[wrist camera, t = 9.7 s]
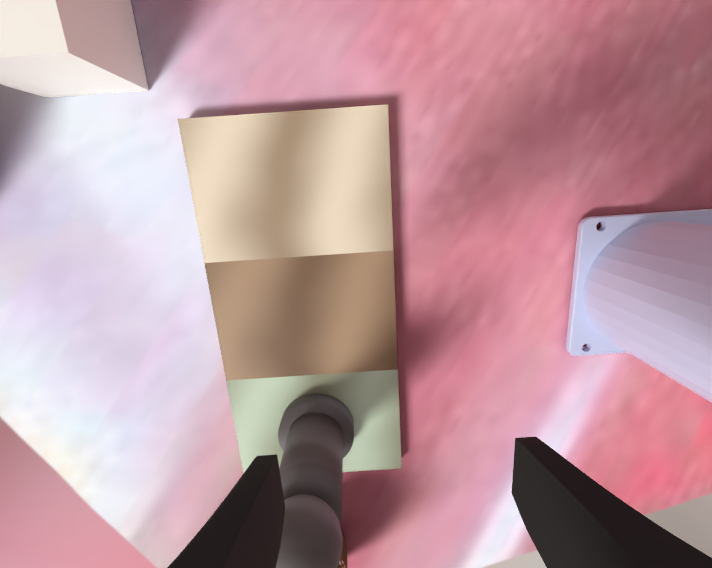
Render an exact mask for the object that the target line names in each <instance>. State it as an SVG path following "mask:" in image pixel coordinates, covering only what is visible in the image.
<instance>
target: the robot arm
mask: <svg viewBox="0 0 712 568" xmlns="http://www.w3.org/2000/svg"><path fill="white" fill-rule="evenodd" d="M599 222H601V227H600V229H599V230H597V229H596V226H597V224H598V223H599ZM584 344H587V345H586V347H585V348H583V349H582V347H583V345H584ZM566 350H567V351H568V352H569V353H570V354H572V355H574V356H580V355H596V354H611V353H627V352H628V353H630V354H631V355H633V356H635V357H636V358H638V359H640V360H641V361H643V362H645V363H646V364H648V365H650V366H651V367H653V368H655V369H656V370H658V371H660V372H661V373H663V374H665V375H666V376H668V377H670V378H671V379H673V380H675V381H676V382H678V383H680V384H681V385H683V386H685V387H686V388H688V389H690V390H691V391H693V392H695V393H696V394H698V395H700V396H701V397H703V398H705V399H706V400H708V401H710V402H711V403H712V209H699V210H684V211H669V212H654V213H639V214H624V215H610V216H595V217H586V218H584V219H583V220H581V222H580V223H579V226H578V233H577V243H576V252H575V262H574V272H573V281H572V291H571V300H570V310H569V320H568V329H567V339H566ZM512 495H513V497H514V500H515V502H516V505H517V507H518V510H519V512H520V515H521V517H522V519H523V522H524V524H525V526H526V529H527V531H528V533H529V535H530V537H531V539H532V541H533V542H534V544H535V546H536V548H537V550H538V552H539V554H540V556H541V557H542V559H543V561H544V563H545V565H546V567H547V568H712V558H711V557H709V556H707V555H706V554H704V553H702V552H701V551H699V550H697V549H696V548H694V547H692V546H691V545H689V544H687V543H686V542H684V541H682V540H681V539H679V538H677V537H676V536H674V535H673V534H671V533H670V532H668V531H666V530H665V529H663V528H662V527H660V526H659V525H657V524H656V523H654V522H653V521H651V520H650V519H648V518H647V517H645V516H644V515H642V514H641V513H639V512H638V511H636V510H635V509H633V508H632V507H630V506H629V505H627V504H626V503H625V502H623V501H622V500H620V499H619V498H617V497H616V496H615V495H613V494H612V493H610V492H609V491H608V490H606V489H605V488H603V487H602V486H601V485H599V484H598V483H597V482H595V481H594V480H593V479H591V478H590V477H589V476H587V475H586V474H585V473H583V472H582V471H581V470H579V469H578V468H577V467H575V466H574V465H573V464H571V463H570V462H569V461H567V460H566V459H565V458H563V457H562V456H561V455H559V454H558V453H557V452H556V451H554V450H553V449H552V448H550V447H549V446H548V445H546V444H545V443H544V442H542V441H541V440H540V439H538V438H537V437H525V438H515V453H514V468H513V483H512ZM284 515H285V503H284V496H283V489H282V483H281V476H280V470H279V463H278V456H277V454H276V455H261V456H256V458H255V459H254V460H253V461H252V463H251V464H250V465H249V467H248V468H247V470H246V471H245V472H244V474H243V475H242V477H241V478H240V479H239V481H238V482H237V483H236V485H235V486H234V487H233V489H232V490H231V491H230V493H229V494H228V496H227V497H226V498H225V499H224V501H223V502H222V503H221V505H220V506H219V507H218V508H217V510H216V511H215V512H214V514H213V515H212V516H211V517H210V519H209V520H208V521H207V522H206V524H205V525H204V526H203V527H202V528H201V530H200V531H199V532H198V533H197V534H196V536H195V537H194V538H193V539H192V540H191V542H190V543H189V544H188V545H187V546H186V547H185V549H184V550H183V551H182V552H181V553H180V554H179V556H178V557H177V558H176V559H175V560H174V561H173V562H172V563H171V564H170V566H169V567H168V568H276V564H277V559H278V555H279V551H280V545H281V538H282V531H283V523H284Z"/></svg>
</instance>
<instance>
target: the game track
mask: <svg viewBox="0 0 712 568" xmlns="http://www.w3.org/2000/svg"><path fill="white" fill-rule="evenodd" d="M178 123H179V128H180V133H181V139H182V144H183V149H184V155H185V160H186V166H187V171H188V176H189V182H190V187H191V193H192V198H193V203H194V209H195V214H196V220H197V225H198V230H199V236H200V241H201V246H202V252H203V257H204V263H205V268H206V273H207V279H208V284H209V290H210V295H211V300H212V306H213V311H214V317H215V322H216V327H217V333H218V338H219V344H220V349H221V354H222V360H223V365H224V370H225V376H226V381H227V387H228V392H229V397H230V403H231V408H232V414H233V419H234V424H235V430H236V435H237V441H238V446H239V451H240V457H241V462H242V468H243V473H244V472H245V471H246V470H247V468H248V467H249V465H250V464H251V463H252V461H253V460H254V459H255V458H256V456H261V455H276V454H277V456H278V463H279V467H280V464H281V460H282V456H283V450H282V448H281V447H280V444H279V440H278V430H279V426H280V422H281V419H282V416H283V413H284V411H285V409H286V408H287V407H288V405H289V404H290V403H291V402H293V401H294V400H295V399H297V398H299V397H301V396H304V395H307V394H314V393H320V394H326V395H330V396H333V397H335V398H337V399H339V400H340V401H342V402H343V403H344V404H345V405H346V406H347V407H348V409H349V410H350V412H351V414H352V417H353V421H354V441H353V445H352V447H351V449H350V451H349V453H348V454H347V455H346V456H345V457H344V458H343V470H342V472H352V471H368V470H384V469H400V468H402V467H401V440H400V413H399V386H398V360H397V333H396V306H395V279H394V252H393V225H392V198H391V171H390V145H389V118H388V104H387V105H372V106H358V107H344V108H329V109H315V110H301V111H286V112H272V113H257V114H243V115H229V116H214V117H200V118H185V119H178Z"/></svg>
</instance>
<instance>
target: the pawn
mask: <svg viewBox="0 0 712 568" xmlns="http://www.w3.org/2000/svg"><path fill="white" fill-rule="evenodd" d="M278 440H279V444H280V447H281V448H282V450H283V456H282V460H281V464H280V467H279V470H280V476H281V483H282V489H283V496H284V503H285V515H284V523H283V531H282V538H281V545H280V551H279V555H278V559H277V564H276V568H337V567H338V564H339V561H340V558H341V553H342V542H343V541H342V531H341V526H340V523H339V522H340V519H341V501H342V470H343V458H344V457H345V456H346V455H347V454H348V453H349V451H350V449H351V447H352V445H353V441H354V421H353V417H352V414H351V412H350V410H349V409H348V407H347V406H346V405H345V404H344V403H343V402H342V401H340V400H339V399H337V398H335V397H333V396H330V395H326V394H320V393H314V394H307V395H304V396H301V397H299V398H297V399H295V400H294V401H293V402H291V403H290V404H289V405H288V407H287V408H286V409H285V411H284V413H283V416H282V419H281V422H280V426H279V430H278Z"/></svg>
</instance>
